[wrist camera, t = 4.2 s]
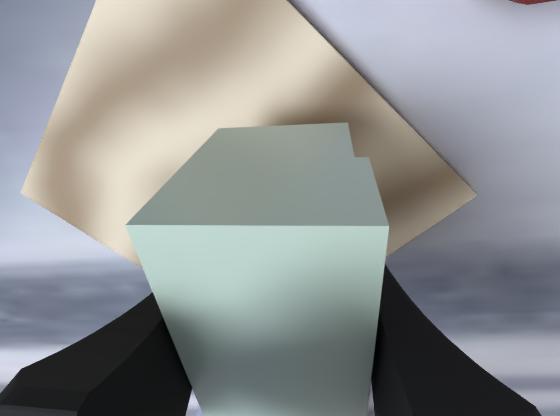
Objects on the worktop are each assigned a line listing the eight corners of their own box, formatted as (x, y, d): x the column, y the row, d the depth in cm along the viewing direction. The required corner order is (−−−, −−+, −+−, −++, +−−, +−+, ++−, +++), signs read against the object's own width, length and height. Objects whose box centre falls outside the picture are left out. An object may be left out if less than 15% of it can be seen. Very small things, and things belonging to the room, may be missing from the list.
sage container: (349, 303, 17) (361, 455, 11) (250, 299, 18) (213, 438, 12) (358, 121, 12) (388, 226, 6) (218, 128, 13) (125, 224, 7)
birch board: (470, 187, 17) (477, 195, 17) (261, 330, 26) (259, 341, 25) (162, -128, 12) (150, -139, 11) (32, 185, 21) (20, 193, 20)
